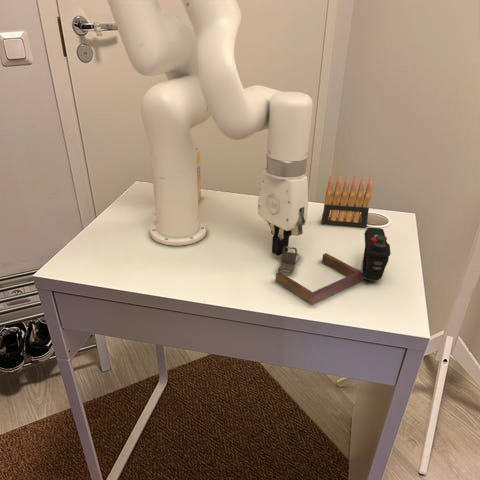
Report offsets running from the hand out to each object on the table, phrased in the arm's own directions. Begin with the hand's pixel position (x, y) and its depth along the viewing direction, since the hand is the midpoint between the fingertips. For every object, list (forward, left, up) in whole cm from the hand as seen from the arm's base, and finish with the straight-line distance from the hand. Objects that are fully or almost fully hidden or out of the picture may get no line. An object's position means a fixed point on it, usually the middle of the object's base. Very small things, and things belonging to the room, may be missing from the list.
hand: (279, 252), depth 99 cm
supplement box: (-36, +1, -2) cm, 36 cm away
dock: (+11, 0, -1) cm, 11 cm away
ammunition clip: (-3, +24, -2) cm, 24 cm away
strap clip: (+3, 0, -2) cm, 4 cm away
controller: (+16, +10, -2) cm, 19 cm away
